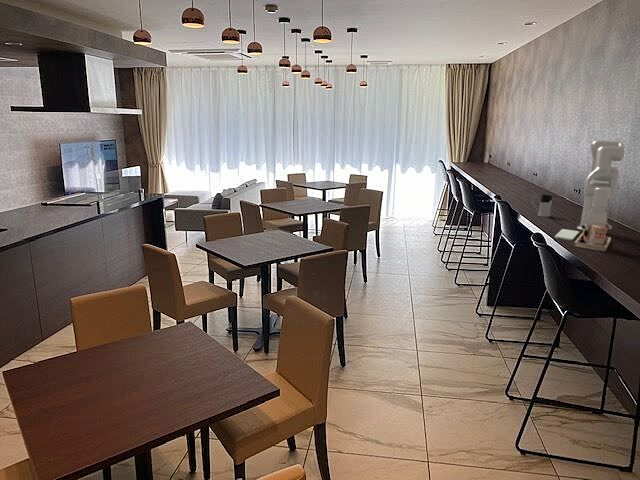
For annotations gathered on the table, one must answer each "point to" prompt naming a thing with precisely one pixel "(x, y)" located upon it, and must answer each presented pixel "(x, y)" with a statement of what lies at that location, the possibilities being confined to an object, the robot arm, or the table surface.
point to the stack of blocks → (595, 235)
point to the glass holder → (544, 205)
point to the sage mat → (567, 234)
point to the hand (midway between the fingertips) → (593, 237)
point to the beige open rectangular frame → (594, 247)
